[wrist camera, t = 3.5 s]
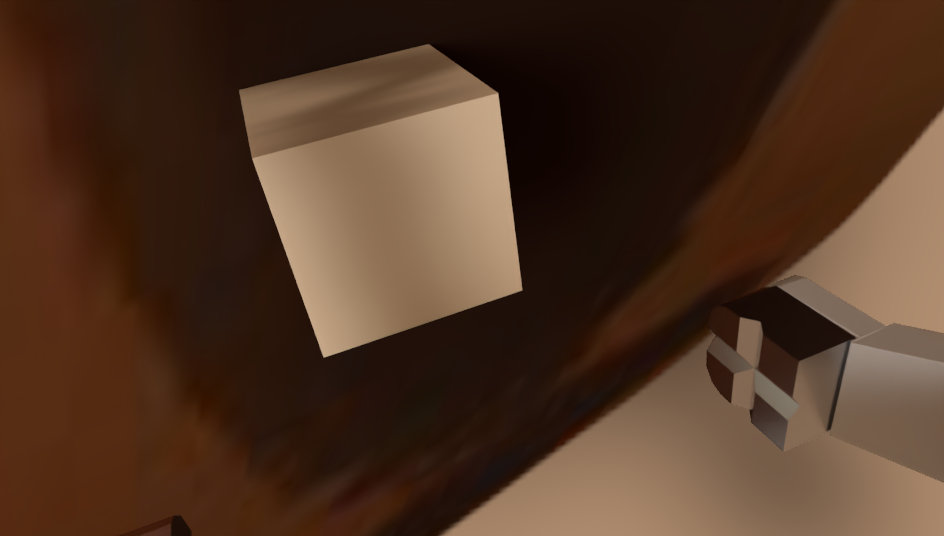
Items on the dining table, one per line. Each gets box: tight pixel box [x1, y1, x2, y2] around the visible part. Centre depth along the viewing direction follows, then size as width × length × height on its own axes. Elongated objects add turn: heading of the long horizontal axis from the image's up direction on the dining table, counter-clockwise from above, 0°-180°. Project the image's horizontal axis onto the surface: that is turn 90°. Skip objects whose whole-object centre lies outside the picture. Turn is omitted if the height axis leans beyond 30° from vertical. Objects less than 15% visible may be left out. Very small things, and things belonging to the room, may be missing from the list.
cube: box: [239, 44, 522, 357], centre depth 16 cm, size 5×5×5 cm
